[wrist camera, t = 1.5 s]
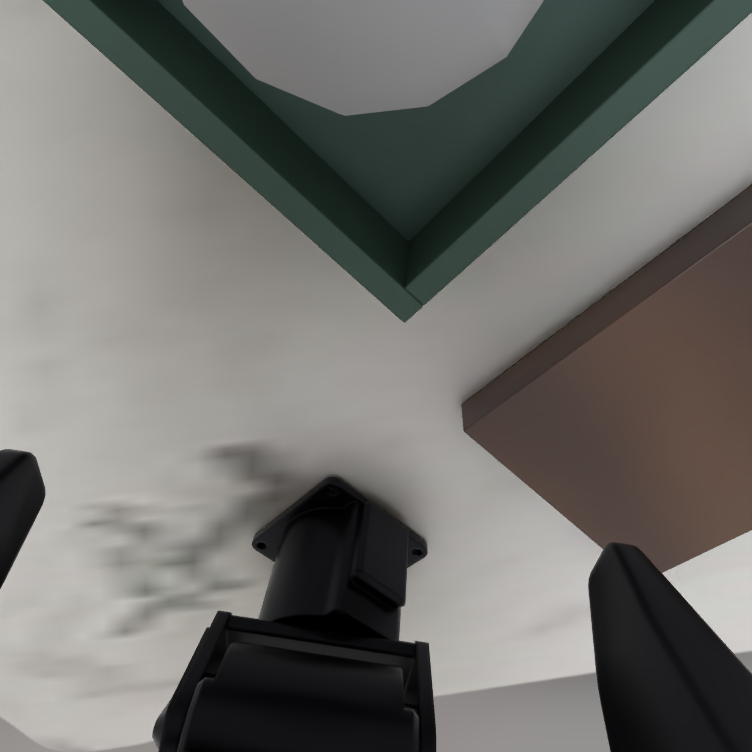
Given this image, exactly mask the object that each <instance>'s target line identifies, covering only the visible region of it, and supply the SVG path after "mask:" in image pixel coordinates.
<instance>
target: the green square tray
mask: <svg viewBox="0 0 752 752" xmlns="http://www.w3.org/2000/svg"><path fill="white" fill-rule="evenodd" d="M43 1H44V2H45V3H46V4H48V5H49V6H50V7H51V8H52V9H53V10H54V11H55V12H57V13H58V14H59V15H60V16H61V17H62V18H63V19H64V20H65V21H67V22H68V23H69V24H70V25H71V26H72V27H73V28H74V29H76V30H77V31H78V32H79V33H80V34H81V35H82V36H83V37H85V38H86V39H87V40H88V41H89V42H90V43H91V44H92V45H94V46H95V47H96V48H97V49H98V50H99V51H100V52H101V53H102V54H104V55H105V56H106V57H107V58H108V59H109V60H110V61H111V62H113V63H114V64H115V65H116V66H117V67H118V68H119V69H120V70H122V71H123V72H124V73H125V74H126V75H127V76H128V77H129V78H130V79H132V80H133V81H134V82H135V83H136V84H137V85H138V86H139V87H141V88H142V89H143V90H144V91H145V92H146V93H147V94H148V95H150V96H151V97H152V98H153V99H154V100H155V101H156V102H157V103H159V104H160V105H161V106H162V107H163V108H164V109H165V110H166V111H167V112H169V113H170V114H171V115H172V116H173V117H174V118H175V119H176V120H178V121H179V122H180V123H181V124H182V125H183V126H184V127H185V128H187V129H188V130H189V131H190V132H191V133H192V134H193V135H194V136H195V137H197V138H198V139H199V140H200V141H201V142H202V143H203V144H204V145H206V146H207V147H208V148H209V149H210V150H211V151H212V152H213V153H215V154H216V155H217V156H218V157H219V158H220V159H221V160H222V161H224V162H225V163H226V164H227V165H228V166H229V167H230V168H231V169H232V170H234V171H235V172H236V173H237V174H238V175H239V176H240V177H241V178H243V179H244V180H245V181H246V182H247V183H248V184H249V185H250V186H252V187H253V188H254V189H255V190H256V191H257V192H258V193H259V194H260V195H262V196H263V197H264V198H265V199H266V200H267V201H268V202H269V203H271V204H272V205H273V206H274V207H275V208H276V209H277V210H278V211H280V212H281V213H282V214H283V215H284V216H285V217H286V218H287V219H289V220H290V221H291V222H292V223H293V224H294V225H295V226H296V227H297V228H299V229H300V230H301V231H302V232H303V233H304V234H305V235H306V236H308V237H309V238H310V239H311V240H312V241H313V242H314V243H315V244H317V245H318V246H319V247H320V248H321V249H322V250H323V251H324V252H325V253H327V254H328V255H329V256H330V257H331V258H332V259H333V260H334V261H336V262H337V263H338V264H339V265H340V266H341V267H342V268H343V269H345V270H346V271H347V272H348V273H349V274H350V275H351V276H352V277H354V278H355V279H356V280H357V281H358V282H359V283H360V284H361V285H362V286H364V287H365V288H366V289H367V290H368V291H369V292H370V293H371V294H373V295H374V296H375V297H376V298H377V299H378V300H379V301H380V302H382V303H383V304H384V305H385V306H386V307H387V308H388V309H389V310H390V311H392V312H393V313H394V314H395V315H396V316H397V317H398V318H399V319H401V320H402V321H403V322H406V321H407V320H408V319H409V318H411V317H412V316H413V315H414V314H415V313H416V312H417V311H418V310H420V309H421V308H422V307H423V305H425V304H426V303H427V302H428V301H429V300H431V299H432V298H433V297H434V296H435V295H436V294H437V293H438V292H439V291H441V290H442V289H443V288H444V287H445V286H446V285H447V284H448V283H450V282H451V281H452V280H453V279H454V278H455V277H456V276H457V275H459V274H460V273H461V272H462V271H463V270H464V269H465V268H466V267H467V266H469V265H470V264H471V263H472V262H473V261H474V260H475V259H476V258H478V257H479V256H480V255H481V254H482V253H483V252H484V251H485V250H486V249H488V248H489V247H490V246H491V245H492V244H493V243H494V242H495V241H497V240H498V239H499V238H500V237H501V236H502V235H503V234H504V233H505V232H507V231H508V230H509V229H510V228H511V227H512V226H513V225H514V224H516V223H517V222H518V221H519V220H520V219H521V218H522V217H523V216H524V215H526V214H527V213H528V212H529V211H530V210H531V209H532V208H533V207H535V206H536V205H537V204H538V203H539V202H540V201H541V200H542V199H544V198H545V197H546V196H547V195H548V194H549V193H550V192H551V191H552V190H554V189H555V188H556V187H557V186H558V185H559V184H560V183H561V182H563V181H564V180H565V179H566V178H567V177H568V176H569V175H570V174H571V173H573V172H574V171H575V170H576V169H577V168H578V167H579V166H580V165H582V164H583V163H584V162H585V161H586V160H587V159H588V158H589V157H590V156H592V155H593V154H594V153H595V152H596V151H597V150H598V149H599V148H601V147H602V146H603V145H604V144H605V143H606V142H607V141H608V140H609V139H611V138H612V137H613V136H614V135H615V134H616V133H617V132H618V131H620V130H621V129H622V128H623V127H624V126H625V125H626V124H627V123H629V122H630V121H631V120H632V119H633V118H634V117H635V116H636V115H637V114H639V113H640V112H641V111H642V110H643V109H644V108H645V107H646V106H648V105H649V104H650V103H651V102H652V101H653V100H654V99H655V98H656V97H658V96H659V95H660V94H661V93H662V92H663V91H664V90H665V89H667V88H668V87H669V86H670V85H671V84H672V83H673V82H674V81H675V80H677V79H678V78H679V77H680V76H681V75H682V74H683V73H684V72H686V71H687V70H688V69H689V68H690V67H691V66H692V65H693V64H694V63H696V62H697V61H698V60H699V59H700V58H701V57H702V56H703V55H705V54H706V53H707V52H708V51H709V50H710V49H711V48H712V47H713V46H715V45H716V44H717V43H718V42H719V41H720V40H721V39H722V38H724V37H725V36H726V35H727V34H728V33H729V32H730V31H731V30H733V29H734V28H735V27H736V26H737V25H738V24H739V23H740V22H741V21H743V20H744V19H745V18H746V17H747V16H748V15H749V14H750V13H752V0H544V1H543V3H542V4H541V6H540V7H539V9H538V10H537V12H536V13H535V15H534V16H533V18H532V19H531V21H530V22H529V24H528V25H527V27H526V28H525V30H524V31H523V33H522V34H521V36H520V37H519V39H518V40H517V42H516V43H515V45H514V46H513V48H512V49H511V51H510V52H509V54H508V55H507V57H506V58H504V59H503V60H501V61H500V62H498V63H496V64H495V65H493V66H492V67H490V68H488V69H487V70H485V71H484V72H482V73H480V74H479V75H477V76H476V77H474V78H472V79H471V80H469V81H468V82H466V83H464V84H463V85H461V86H460V87H458V88H456V89H455V90H453V91H452V92H450V93H448V94H447V95H445V96H444V97H442V98H441V99H439V100H437V101H436V102H434V103H433V104H431V105H429V106H427V107H418V108H409V109H401V110H392V111H383V112H374V113H366V114H357V115H348V116H344V115H341V114H338V113H336V112H334V111H331V110H329V109H326V108H324V107H322V106H319V105H317V104H314V103H312V102H310V101H307V100H305V99H303V98H300V97H298V96H295V95H293V94H291V93H288V92H286V91H283V90H281V89H279V88H276V87H274V86H272V85H269V84H267V83H264V82H262V81H260V80H257V79H255V77H254V76H253V75H252V74H251V73H250V72H249V71H248V70H247V69H246V68H245V67H244V66H243V65H242V64H241V63H240V62H239V61H238V60H237V59H236V58H235V57H234V56H233V55H232V54H231V53H230V52H229V51H228V50H227V49H226V48H225V47H224V46H223V45H222V43H221V42H220V41H219V40H218V39H217V38H216V37H215V36H214V35H213V34H212V33H211V32H210V31H209V30H208V29H207V28H206V27H205V26H204V25H203V24H202V23H201V22H200V21H199V20H198V19H197V18H196V17H195V16H194V15H193V14H192V13H191V12H190V11H189V10H188V8H187V7H186V6H185V5H184V3H183V1H182V0H43Z"/></svg>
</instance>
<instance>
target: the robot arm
mask: <svg viewBox="0 0 752 752" xmlns="http://www.w3.org/2000/svg"><path fill="white" fill-rule="evenodd" d="M330 487H334V488H336V489H331V488H330ZM44 499H45V486H44V483H43V479H42V476H41V473H40V469H39V466H38V463H37V460H36V457H35V456H34V455H33V454H32V453H30V452H25V451H18V450H12V449H5V450H1V451H0V588H1V587H2V585H3V583H4V581H5V579H6V577H7V575H8V573H9V571H10V569H11V567H12V565H13V563H14V561H15V559H16V557H17V555H18V553H19V551H20V549H21V547H22V545H23V543H24V541H25V539H26V537H27V535H28V533H29V531H30V529H31V527H32V525H33V523H34V521H35V519H36V517H37V515H38V513H39V511H40V509H41V507H42V505H43V502H44ZM252 546H253V548H254V549H255V550H257V551H258V552H260V553H261V554H263V555H264V556H266V557H268V558H269V559H271V560H272V561H274V562H275V563H274V566H273V570H272V573H271V577H270V580H269V584H268V587H267V591H266V594H265V598H264V601H263V605H262V608H261V612H260V615H259V619H254V618H247V617H241V616H234V615H232V613H230V612H224V611H218V612H217V614H216V616H215V618H214V620H213V622H212V624H211V626H210V628H208V627H207V628H206V630H205V632H204V634H203V636H202V638H201V640H200V642H199V644H198V646H197V648H196V650H195V652H194V654H193V656H192V658H191V660H190V662H189V665H188V667H187V669H186V671H185V673H184V675H183V677H182V679H181V681H180V683H179V685H178V687H177V689H176V691H175V693H174V695H173V697H172V698H171V700H170V701H169V703H168V704H167V706H166V707H165V708H164V710H163V711H162V713H161V714H160V716H159V717H158V719H157V720H156V723H155V726H154V729H153V736H152V737H153V739H154V741H155V744H156V746H157V748H158V750H159V752H436V724H435V713H434V701H433V689H432V677H431V665H430V653H429V643H426V642H419V641H415V643H410V642H404V641H399V633H400V614H401V607H402V606H404V605H405V600H406V578H407V568H408V567H409V566H411V565H413V564H414V563H416V562H418V561H419V560H421V559H422V558H424V557H425V556H426V555H427V543H426V542H425V541H424V540H422V539H421V538H420V537H418V536H417V535H415V534H414V533H413V532H411V531H410V530H409V529H407V528H406V527H405V526H403V525H402V524H400V523H399V522H398V521H396V520H395V519H394V518H392V517H391V516H390V515H388V514H387V513H385V512H384V511H383V510H381V509H380V508H379V507H377V506H376V505H374V504H373V503H372V502H370V501H369V500H368V499H366V498H365V497H364V496H362V495H361V494H359V493H358V492H357V491H355V490H354V489H353V488H351V487H350V486H349V485H347V484H346V483H344V482H343V481H342V480H340V479H338V478H335V477H330V478H327V479H325V480H324V481H323V482H321V483H320V484H319V485H318V486H316V487H315V488H314V489H313V490H311V491H310V492H309V493H308V494H306V495H305V496H304V497H302V498H301V499H300V500H299V501H297V502H296V503H295V504H294V505H292V506H291V507H290V508H289V509H287V510H286V511H285V512H283V513H282V514H281V515H280V516H278V517H277V518H276V519H275V520H273V521H272V522H271V523H269V524H268V525H267V526H266V527H264V528H263V529H262V530H261V531H259V532H258V533H257V534H256V535H255V536H254V539H253V541H252ZM588 588H589V600H590V611H591V622H592V633H593V643H594V654H595V665H596V674H597V683H598V690H599V695H600V700H601V706H602V711H603V715H604V721H605V726H606V731H607V735H608V741H609V746H610V751H611V752H752V673H751V672H750V671H749V670H748V669H747V668H746V667H745V666H744V665H743V663H742V662H741V661H740V660H739V659H738V658H737V657H736V656H735V654H734V653H733V652H732V651H731V650H730V649H729V648H728V647H727V646H726V644H725V643H724V642H723V641H722V640H721V639H720V638H719V637H718V635H717V634H716V633H715V632H714V631H713V630H712V629H711V628H710V627H709V625H708V624H707V623H706V622H705V621H704V620H703V619H702V618H701V617H700V615H699V614H698V613H697V612H696V611H695V610H694V609H693V608H692V606H691V605H690V604H689V603H688V602H687V601H686V600H685V599H684V598H683V596H682V595H681V594H680V593H679V592H678V591H677V590H676V589H675V587H674V586H673V585H672V584H671V583H670V582H669V581H668V580H667V579H666V577H665V576H664V575H663V574H662V573H661V572H660V571H659V570H658V568H657V567H656V566H655V565H654V564H653V563H652V562H651V561H650V560H649V558H648V557H647V556H646V555H645V554H644V553H643V552H642V551H641V550H640V549H639V548H638V547H636V546H634V545H629V544H623V543H616V542H611V543H609V544H607V545H606V547H605V548H604V550H603V552H602V553H601V555H600V557H599V559H598V561H597V562H596V564H595V566H594V568H593V570H592V571H591V574H590V577H589V584H588Z"/></svg>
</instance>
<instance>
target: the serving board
mask: <svg viewBox="0 0 752 752" xmlns="http://www.w3.org/2000/svg"><path fill="white" fill-rule="evenodd" d="M462 417H463V430H464V432H465V433H467V434H468V435H469V436H470V437H471V438H472V439H474V440H475V441H476V442H477V443H478V444H480V445H481V446H482V447H483V448H484V449H485V450H487V451H488V452H489V453H490V454H491V455H493V456H494V457H495V458H496V459H497V460H498V461H500V462H501V463H502V464H503V465H504V466H506V467H507V468H508V469H509V470H510V471H511V472H513V473H514V474H515V475H516V476H517V477H519V478H520V479H521V480H522V481H523V482H524V483H526V484H527V485H528V486H529V487H530V488H532V489H533V490H534V491H535V492H536V493H537V494H539V495H540V496H541V497H542V498H543V499H545V500H546V501H547V502H548V503H549V504H550V505H552V506H553V507H554V508H555V509H556V510H558V511H559V512H560V513H561V514H562V515H563V516H565V517H566V518H567V519H568V520H569V521H571V522H572V523H573V524H574V525H575V526H576V527H578V528H579V529H580V530H581V531H582V532H583V533H585V534H586V535H587V536H588V537H589V538H591V539H592V540H593V541H594V542H595V543H596V544H598V545H599V546H600V547H601V548H602V549H604V548H605V547H606V545H607V544H609V543H611V542H616V543H623V544H629V545H634V546H636V547H638V548H639V549H640V550H641V551H642V552H643V553H644V554H645V555H646V556H647V557H648V558H649V560H650V561H651V562H652V563H653V564H654V565H655V566H656V567H657V568H658V570H659V571H660V572H661V573H663V572H665V571H667V570H669V569H671V568H673V567H675V566H677V565H679V564H681V563H684V562H686V561H688V560H690V559H692V558H694V557H696V556H698V555H700V554H702V553H705V552H707V551H709V550H711V549H713V548H715V547H717V546H719V545H721V544H723V543H726V542H728V541H730V540H732V539H734V538H736V537H738V536H740V535H742V534H744V533H746V532H749V531H751V530H752V186H751V187H749V188H748V189H747V190H745V191H744V192H743V193H741V194H740V195H739V196H737V197H736V198H735V199H733V200H732V201H731V202H729V203H728V204H727V205H725V206H724V207H723V208H721V209H720V210H719V211H717V212H716V213H715V214H713V215H712V216H711V217H709V218H708V219H707V220H705V221H704V222H703V223H701V224H700V225H699V226H697V227H696V228H695V229H694V230H692V231H691V232H690V233H688V234H687V235H686V236H684V237H683V238H682V239H680V240H679V241H678V242H676V243H675V244H674V245H672V246H671V247H670V248H668V249H667V250H666V251H664V252H663V253H662V254H660V255H659V256H658V257H656V258H655V259H654V260H652V261H651V262H650V263H648V264H647V265H646V266H644V267H643V268H642V269H641V270H639V271H638V272H637V273H635V274H634V275H633V276H631V277H630V278H629V279H627V280H626V281H625V282H623V283H622V284H621V285H619V286H618V287H617V288H615V289H614V290H613V291H611V292H610V293H609V294H607V295H606V296H605V297H603V298H602V299H601V300H599V301H598V302H597V303H595V304H594V305H593V306H591V307H590V308H589V309H587V310H586V311H585V312H584V313H582V314H581V315H580V316H578V317H577V318H576V319H574V320H573V321H572V322H570V323H569V324H568V325H566V326H565V327H564V328H562V329H561V330H560V331H558V332H557V333H556V334H554V335H553V336H552V337H550V338H549V339H548V340H546V341H545V342H544V343H542V344H541V345H540V346H538V347H537V348H536V349H534V350H533V351H532V352H531V353H529V354H528V355H527V356H525V357H524V358H523V359H521V360H520V361H519V362H517V363H516V364H515V365H513V366H512V367H511V368H509V369H508V370H507V371H505V372H504V373H503V374H501V375H500V376H499V377H497V378H496V379H495V380H493V381H492V382H491V383H489V384H488V385H487V386H485V387H484V388H483V389H481V390H480V391H479V392H477V393H476V394H475V395H474V396H472V397H471V398H470V399H468V400H467V401H466V402H464V403H463V404H462Z"/></svg>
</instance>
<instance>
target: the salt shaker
mask: <svg viewBox="0 0 752 752" xmlns="http://www.w3.org/2000/svg"><path fill="white" fill-rule="evenodd" d="M182 1H183V3H184V5H185V6H186V7H187V8H188V10H189V11H190V12H191V13H192V14H193V15H194V16H195V17H196V18H197V19H198V20H199V21H200V22H201V23H202V24H203V25H204V26H205V27H206V28H207V29H208V30H209V31H210V32H211V33H212V34H213V35H214V36H215V37H216V38H217V39H218V40H219V41H220V42H221V43H222V45H223V46H224V47H225V48H226V49H227V50H228V51H229V52H230V53H231V54H232V55H233V56H234V57H235V58H236V59H237V60H238V61H239V62H240V63H241V64H242V65H243V66H244V67H245V68H246V69H247V70H248V71H249V72H250V73H251V74H252V75H253V76H254V77H255V79H257V80H260V81H262V82H264V83H267V84H269V85H272V86H274V87H276V88H279V89H281V90H283V91H286V92H288V93H291V94H293V95H295V96H298V97H300V98H303V99H305V100H307V101H310V102H312V103H314V104H317V105H319V106H322V107H324V108H326V109H329V110H331V111H334V112H336V113H338V114H341V115H344V116H348V115H357V114H366V113H374V112H383V111H392V110H401V109H409V108H418V107H427V106H429V105H431V104H433V103H434V102H436V101H437V100H439V99H441V98H442V97H444V96H445V95H447V94H448V93H450V92H452V91H453V90H455V89H456V88H458V87H460V86H461V85H463V84H464V83H466V82H468V81H469V80H471V79H472V78H474V77H476V76H477V75H479V74H480V73H482V72H484V71H485V70H487V69H488V68H490V67H492V66H493V65H495V64H496V63H498V62H500V61H501V60H503V59H504V58H506V57H507V55H508V54H509V52H510V51H511V49H512V48H513V46H514V45H515V43H516V42H517V40H518V39H519V37H520V36H521V34H522V33H523V31H524V30H525V28H526V27H527V25H528V24H529V22H530V21H531V19H532V18H533V16H534V15H535V13H536V12H537V10H538V9H539V7H540V6H541V4H542V3H543V1H544V0H182Z"/></svg>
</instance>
